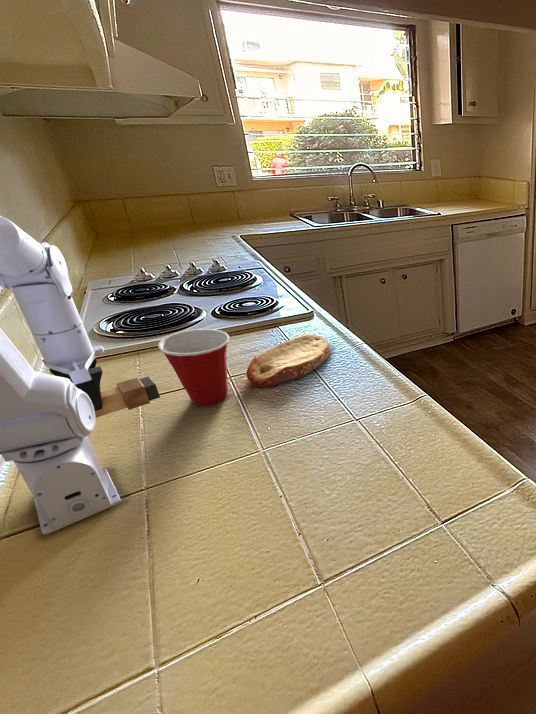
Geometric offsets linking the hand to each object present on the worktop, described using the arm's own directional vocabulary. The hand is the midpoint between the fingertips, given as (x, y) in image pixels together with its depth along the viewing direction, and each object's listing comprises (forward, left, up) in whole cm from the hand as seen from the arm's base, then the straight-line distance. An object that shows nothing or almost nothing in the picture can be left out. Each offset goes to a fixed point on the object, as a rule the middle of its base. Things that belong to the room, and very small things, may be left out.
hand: (92, 407), depth 73 cm
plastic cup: (0, -16, -6) cm, 17 cm away
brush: (0, -2, -1) cm, 3 cm away
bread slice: (+3, -33, -6) cm, 34 cm away
